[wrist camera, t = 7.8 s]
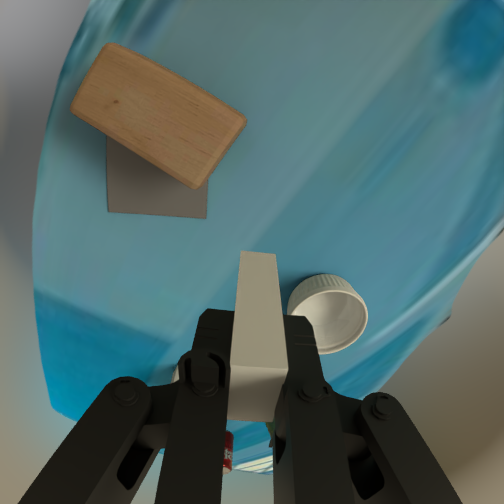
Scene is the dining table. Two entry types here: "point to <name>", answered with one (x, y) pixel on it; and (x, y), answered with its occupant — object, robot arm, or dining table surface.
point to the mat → (148, 187)
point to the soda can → (228, 452)
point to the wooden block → (157, 114)
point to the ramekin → (330, 311)
